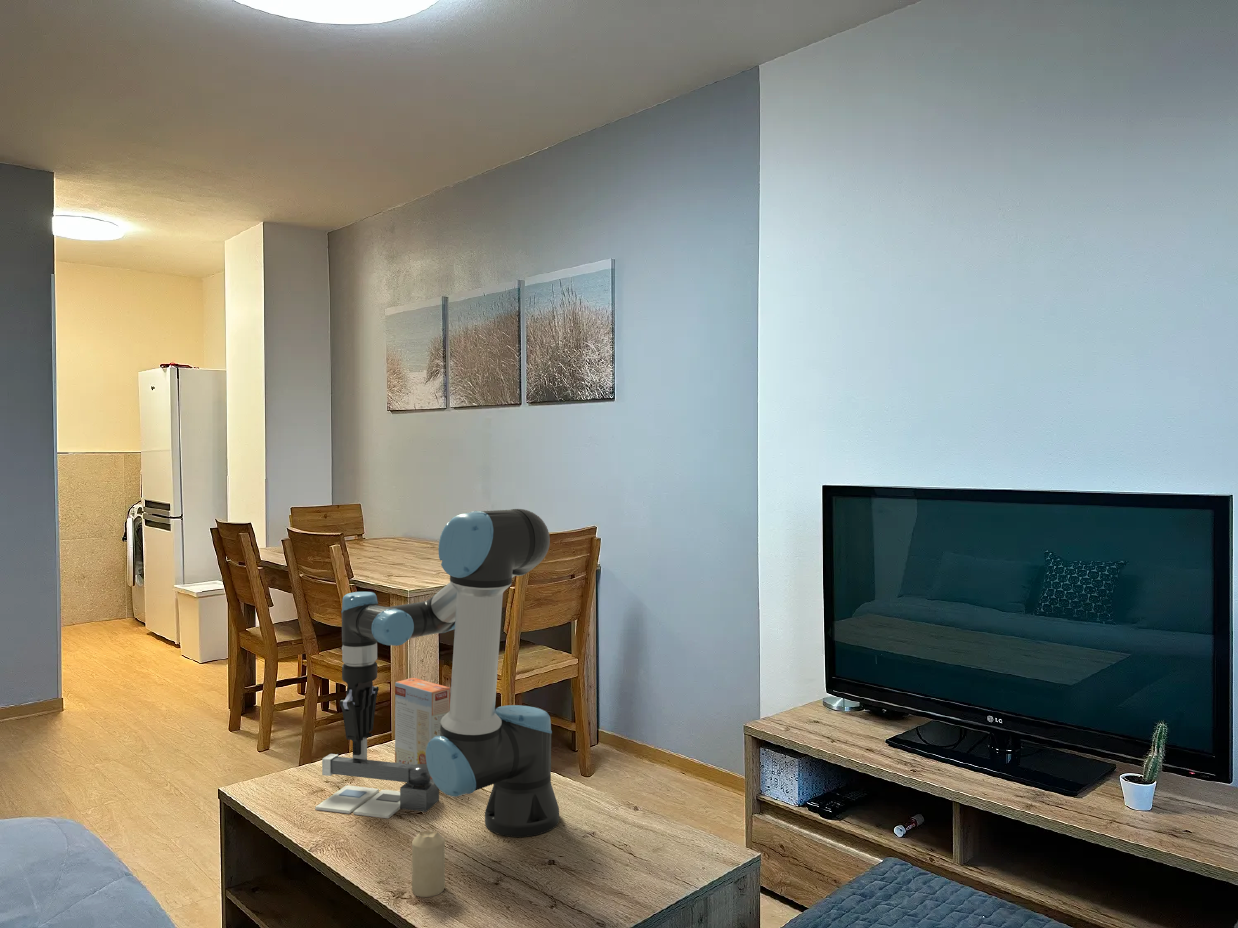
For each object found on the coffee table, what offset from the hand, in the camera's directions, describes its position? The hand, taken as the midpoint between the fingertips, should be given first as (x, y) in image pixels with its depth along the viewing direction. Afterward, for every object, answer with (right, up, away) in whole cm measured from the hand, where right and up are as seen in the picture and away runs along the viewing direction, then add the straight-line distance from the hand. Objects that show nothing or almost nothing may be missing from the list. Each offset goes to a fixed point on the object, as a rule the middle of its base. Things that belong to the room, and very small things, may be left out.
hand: (359, 767), depth 196 cm
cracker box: (+12, -5, +10) cm, 16 cm away
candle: (+25, -6, -44) cm, 50 cm away
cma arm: (+5, 0, -6) cm, 8 cm away
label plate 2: (+8, -5, -8) cm, 13 cm away
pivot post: (+15, -5, -8) cm, 18 cm away
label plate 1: (-1, -5, -6) cm, 8 cm away
